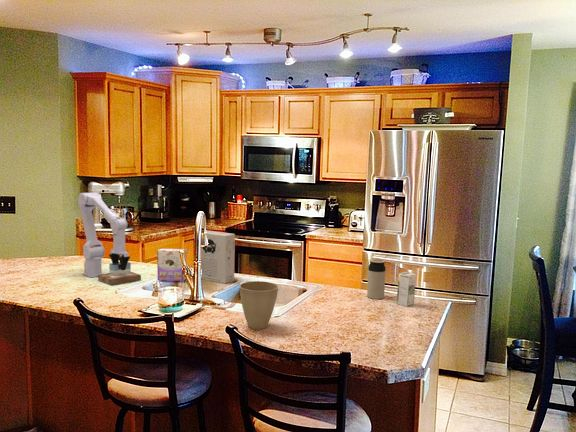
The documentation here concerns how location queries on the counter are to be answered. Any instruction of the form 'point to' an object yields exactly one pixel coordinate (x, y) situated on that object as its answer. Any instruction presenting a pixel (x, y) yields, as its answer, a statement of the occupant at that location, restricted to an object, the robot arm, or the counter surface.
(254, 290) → the plant pot
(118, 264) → the block
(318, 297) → the counter surface
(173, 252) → the candy box
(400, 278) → the syrup box
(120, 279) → the stand
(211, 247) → the cereal box
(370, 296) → the travel mug
